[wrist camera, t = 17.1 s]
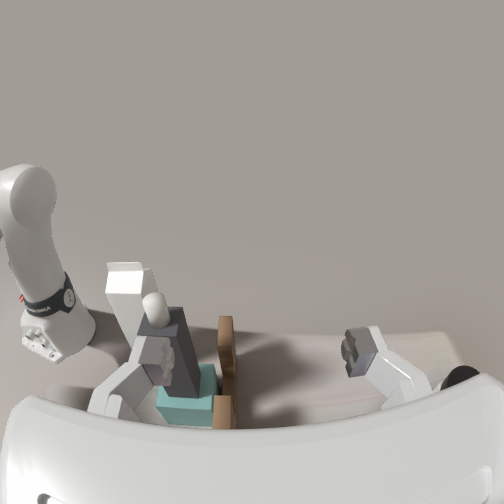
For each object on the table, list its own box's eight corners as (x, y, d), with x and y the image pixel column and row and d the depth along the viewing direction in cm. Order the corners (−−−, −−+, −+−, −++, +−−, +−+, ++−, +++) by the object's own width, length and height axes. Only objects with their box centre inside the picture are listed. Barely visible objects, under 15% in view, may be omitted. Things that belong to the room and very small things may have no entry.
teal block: (168, 423, 35) (155, 405, 32) (174, 384, 42) (163, 362, 38) (217, 426, 35) (211, 409, 32) (218, 385, 42) (213, 363, 38)
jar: (421, 450, 27) (462, 420, 21) (404, 414, 34) (437, 377, 27) (457, 427, 28) (496, 393, 22) (439, 396, 35) (472, 357, 29)
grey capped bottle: (168, 396, 33) (127, 314, 24) (172, 372, 37) (139, 286, 28) (198, 398, 33) (169, 315, 24) (201, 373, 37) (177, 286, 28)
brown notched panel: (223, 460, 30) (212, 438, 24) (225, 358, 47) (219, 316, 41) (237, 460, 30) (230, 439, 24) (236, 358, 47) (232, 316, 41)
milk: (171, 370, 45) (135, 275, 33) (141, 368, 45) (97, 275, 33) (175, 345, 50) (147, 250, 38) (147, 344, 50) (113, 252, 38)
